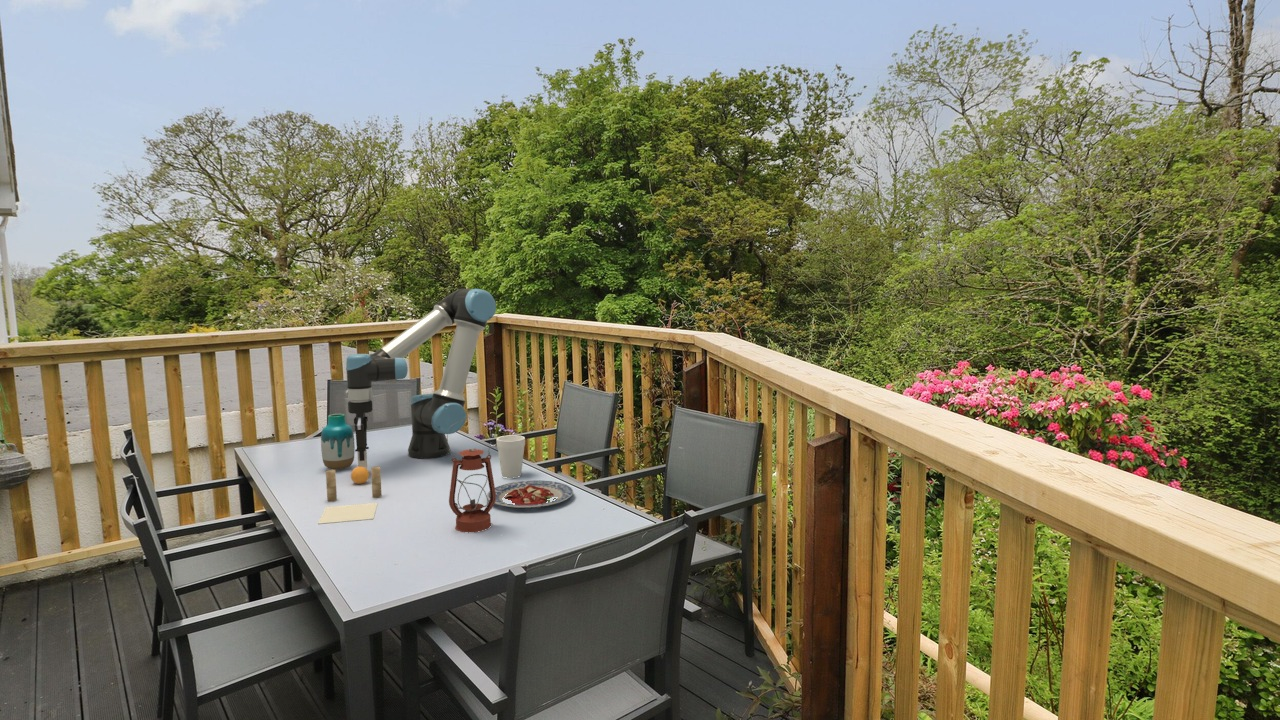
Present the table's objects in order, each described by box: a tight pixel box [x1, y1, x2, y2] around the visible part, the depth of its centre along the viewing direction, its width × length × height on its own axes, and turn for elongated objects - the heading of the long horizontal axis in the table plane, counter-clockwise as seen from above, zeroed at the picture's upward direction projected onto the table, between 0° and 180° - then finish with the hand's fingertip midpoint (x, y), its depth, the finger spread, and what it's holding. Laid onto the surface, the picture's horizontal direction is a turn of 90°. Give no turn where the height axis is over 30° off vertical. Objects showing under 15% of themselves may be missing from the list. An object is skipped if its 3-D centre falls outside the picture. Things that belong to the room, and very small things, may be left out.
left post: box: [325, 469, 338, 502], centre depth 203 cm, size 3×3×9 cm
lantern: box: [446, 416, 496, 534], centre depth 181 cm, size 10×10×30 cm
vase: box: [320, 413, 356, 471], centre depth 237 cm, size 11×11×19 cm
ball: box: [350, 466, 370, 485], centre depth 221 cm, size 6×6×6 cm
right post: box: [370, 466, 382, 499], centre depth 207 cm, size 3×3×9 cm
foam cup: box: [495, 434, 526, 479], centre depth 229 cm, size 10×9×13 cm
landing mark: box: [317, 502, 378, 525], centre depth 192 cm, size 14×14×1 cm
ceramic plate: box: [486, 479, 574, 509], centre depth 206 cm, size 26×26×3 cm
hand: (362, 469), depth 230 cm, fingers closed
